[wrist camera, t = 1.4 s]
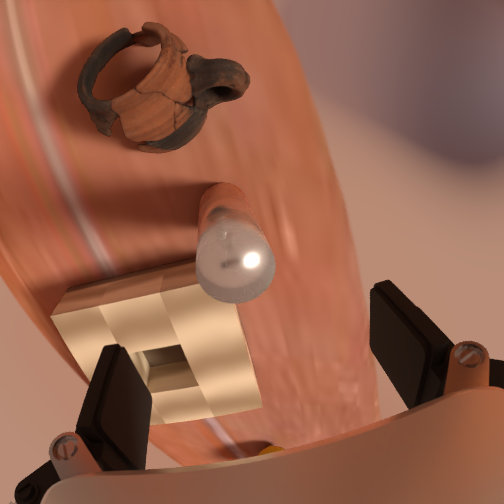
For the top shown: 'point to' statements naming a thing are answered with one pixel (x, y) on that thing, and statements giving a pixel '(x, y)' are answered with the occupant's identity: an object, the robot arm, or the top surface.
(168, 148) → the pottery mug
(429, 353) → the robot arm
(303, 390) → the top surface
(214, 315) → the bore block
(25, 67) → the top surface
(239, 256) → the pin
